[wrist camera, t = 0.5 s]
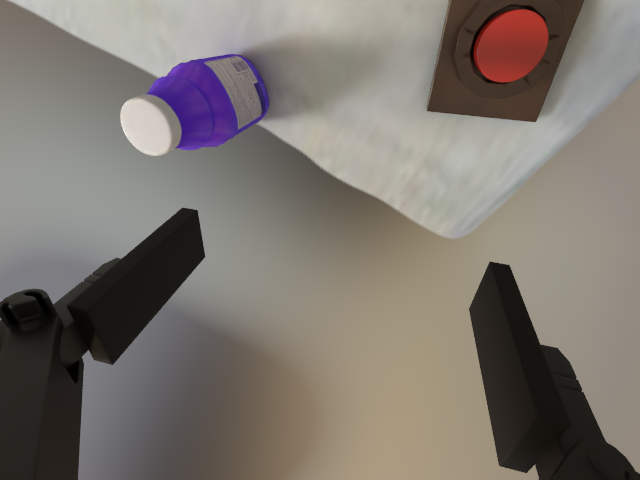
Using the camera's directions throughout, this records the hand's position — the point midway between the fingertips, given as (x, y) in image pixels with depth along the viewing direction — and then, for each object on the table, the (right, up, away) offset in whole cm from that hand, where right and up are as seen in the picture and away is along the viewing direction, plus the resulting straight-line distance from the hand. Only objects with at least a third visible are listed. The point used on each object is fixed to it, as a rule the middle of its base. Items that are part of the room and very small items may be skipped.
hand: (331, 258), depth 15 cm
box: (+16, +19, +15) cm, 29 cm away
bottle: (-9, +18, +23) cm, 30 cm away
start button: (+15, +17, +12) cm, 26 cm away
